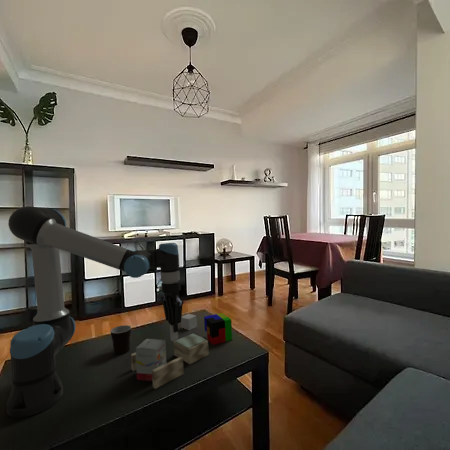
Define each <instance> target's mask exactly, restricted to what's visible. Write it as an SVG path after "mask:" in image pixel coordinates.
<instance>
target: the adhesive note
mask: <svg viewBox="0 0 450 450" xmlns="http://www.w3.org/2000/svg"><path fill="white" fill-rule="evenodd" d="M197 318H198V317H197V315H196V314H191V313H187V314H185V315H182V317H181V323H180V327H181V329H183V328H184V329H183V330H188V331H191V330H193V329H195V328H197V327H198V320H197Z"/></svg>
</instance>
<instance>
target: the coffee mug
mask: <svg viewBox="0 0 450 450" xmlns="http://www.w3.org/2000/svg"><path fill="white" fill-rule="evenodd" d="M131 331H132V326H131V325H125V324H123V325H119V326H118V325H117V326H116V327H112V329H110V335H111V341H112V342H111V343H112V348H113V352H114V353H113V354H115V355H117V356H119V355H124V354H126V353H128V352H130V348H131V333H132V332H131Z"/></svg>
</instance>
